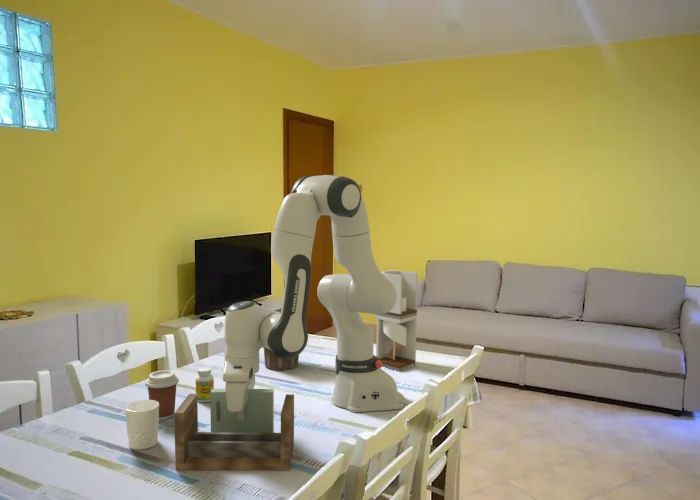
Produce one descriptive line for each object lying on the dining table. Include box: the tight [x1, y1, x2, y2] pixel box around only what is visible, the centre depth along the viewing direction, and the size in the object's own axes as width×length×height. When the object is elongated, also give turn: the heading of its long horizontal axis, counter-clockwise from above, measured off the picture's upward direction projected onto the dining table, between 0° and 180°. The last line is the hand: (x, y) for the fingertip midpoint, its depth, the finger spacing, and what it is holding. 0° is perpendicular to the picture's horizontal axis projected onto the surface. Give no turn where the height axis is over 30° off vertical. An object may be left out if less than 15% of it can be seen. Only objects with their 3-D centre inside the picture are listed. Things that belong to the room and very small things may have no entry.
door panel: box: [209, 388, 275, 433], centre depth 141 cm, size 16×3×12 cm, turn 91°
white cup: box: [125, 399, 160, 451], centre depth 136 cm, size 8×8×10 cm
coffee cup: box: [144, 370, 180, 421], centre depth 154 cm, size 9×9×12 cm
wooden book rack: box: [173, 393, 295, 472], centre depth 129 cm, size 26×12×14 cm, turn 91°
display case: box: [374, 269, 419, 372], centre depth 202 cm, size 11×11×35 cm
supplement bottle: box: [195, 367, 215, 403], centre depth 166 cm, size 5×5×10 cm
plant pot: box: [263, 347, 300, 371], centre depth 200 cm, size 16×16×16 cm
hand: (242, 415), depth 142 cm, fingers closed on door panel, 2 cm apart
